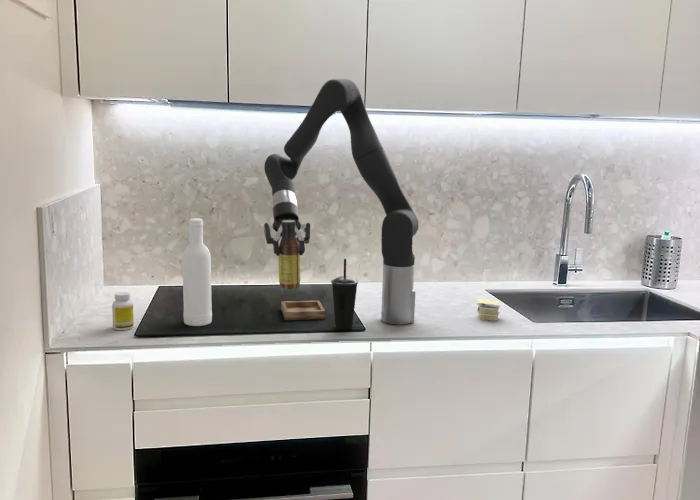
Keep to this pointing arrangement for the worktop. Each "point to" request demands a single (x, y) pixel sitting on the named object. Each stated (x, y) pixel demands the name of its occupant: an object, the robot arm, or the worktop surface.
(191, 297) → the bottle
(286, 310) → the tray
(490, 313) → the pale yellow layered block
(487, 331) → the worktop surface
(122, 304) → the supplement bottle
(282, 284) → the sauce bottle
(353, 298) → the drinking cup
